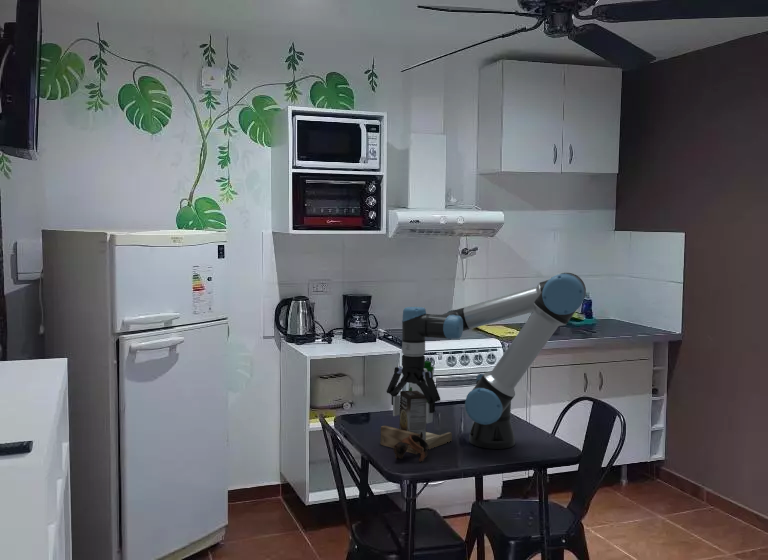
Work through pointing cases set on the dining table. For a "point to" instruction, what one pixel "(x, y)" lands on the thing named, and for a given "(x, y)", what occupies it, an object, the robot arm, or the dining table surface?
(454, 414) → the dining table surface
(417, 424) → the coffee box
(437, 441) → the holder
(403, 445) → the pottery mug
